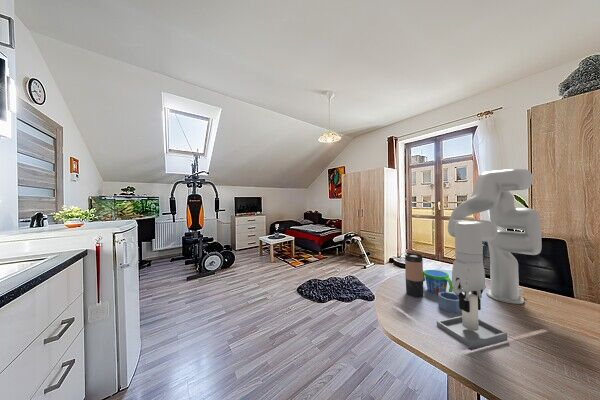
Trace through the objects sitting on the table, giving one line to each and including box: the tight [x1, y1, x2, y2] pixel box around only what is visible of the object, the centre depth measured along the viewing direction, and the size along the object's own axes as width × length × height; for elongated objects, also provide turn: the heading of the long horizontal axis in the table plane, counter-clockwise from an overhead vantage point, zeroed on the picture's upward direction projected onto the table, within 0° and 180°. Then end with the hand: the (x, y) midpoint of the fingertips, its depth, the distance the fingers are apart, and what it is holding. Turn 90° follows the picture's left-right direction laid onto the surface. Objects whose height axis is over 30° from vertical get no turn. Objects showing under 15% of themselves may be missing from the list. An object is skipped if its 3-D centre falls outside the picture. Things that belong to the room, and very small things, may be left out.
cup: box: [437, 291, 462, 314], centre depth 89 cm, size 8×8×6 cm
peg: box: [461, 292, 479, 331], centre depth 73 cm, size 4×4×11 cm
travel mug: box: [404, 253, 424, 298], centre depth 102 cm, size 8×8×20 cm
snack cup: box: [423, 269, 453, 295], centre depth 105 cm, size 16×10×10 cm
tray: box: [436, 315, 508, 351], centre depth 73 cm, size 16×12×2 cm
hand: (469, 308), depth 73 cm, fingers closed on peg, 4 cm apart
